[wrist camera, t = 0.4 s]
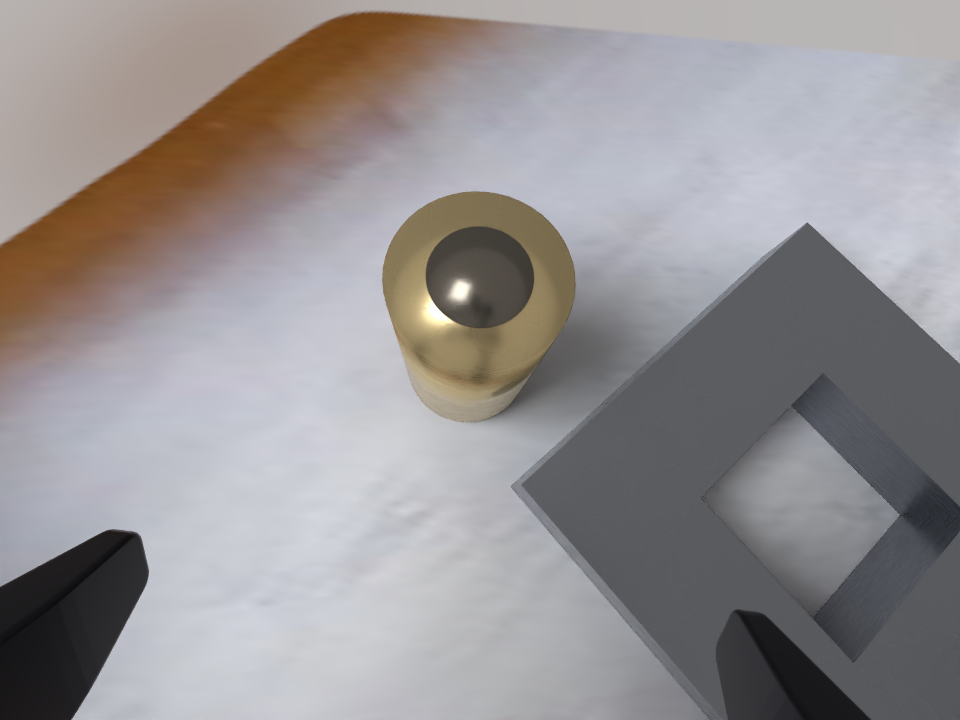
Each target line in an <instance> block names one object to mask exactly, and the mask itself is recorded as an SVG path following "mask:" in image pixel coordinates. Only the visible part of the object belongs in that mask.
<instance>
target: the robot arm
mask: <svg viewBox="0 0 960 720" xmlns="http://www.w3.org/2000/svg"><path fill="white" fill-rule="evenodd" d="M148 576H149V569H148V564H147V560H146V555H145V551H144V547H143V543H142V539H141V536H140V535H139V534H138V533H136V532H132V531H124V530H117V529H112V530H107V531H104V532H102V533H100V534H98V535H96V536H95V537H93V538H91V539H89V540H87V541H85V542H83V543H82V544H80V545H78V546H76V547H74V548H72V549H70V550H68V551H67V552H65V553H63V554H61V555H59V556H57V557H55V558H53V559H52V560H50V561H48V562H46V563H44V564H42V565H40V566H38V567H37V568H35V569H33V570H31V571H29V572H27V573H25V574H24V575H22V576H20V577H18V578H16V579H14V580H12V581H10V582H9V583H7V584H5V585H3V586H1V587H0V720H71V719H72V718H73V716H74V715H75V713H76V712H77V710H78V709H79V707H80V705H81V704H82V702H83V701H84V699H85V697H86V696H87V694H88V693H89V691H90V689H91V687H92V686H93V684H94V682H95V680H96V679H97V677H98V675H99V673H100V671H101V669H102V668H103V666H104V664H105V662H106V660H107V658H108V656H109V654H110V653H111V651H112V649H113V647H114V645H115V643H116V641H117V639H118V637H119V636H120V634H121V632H122V630H123V628H124V626H125V624H126V622H127V620H128V619H129V617H130V615H131V613H132V611H133V609H134V607H135V605H136V603H137V602H138V600H139V598H140V596H141V594H142V592H143V590H144V588H145V586H146V584H147V581H148ZM715 658H716V664H717V669H718V674H719V679H720V684H721V690H722V695H723V700H724V705H725V710H726V715H727V720H871V719H870V718H869V717H868V716H867V715H866V714H865V713H864V712H863V711H862V710H861V709H860V708H859V707H858V706H857V705H856V704H855V703H854V702H853V701H852V700H851V699H850V698H849V697H848V696H847V695H846V694H845V693H844V692H843V691H842V690H841V689H840V688H839V687H838V686H837V685H836V684H835V683H834V682H833V681H832V680H831V679H830V678H829V677H828V676H827V675H826V674H825V673H824V672H823V671H822V670H821V669H820V668H819V667H818V666H817V665H816V664H815V663H814V662H813V661H812V660H811V659H810V658H809V657H808V656H807V655H806V654H805V653H804V652H803V651H802V650H801V649H800V648H799V647H798V646H797V645H796V644H795V643H794V642H793V641H792V640H791V639H790V638H789V637H788V636H787V635H786V634H785V633H784V632H783V631H782V630H781V629H780V628H779V627H778V626H777V625H776V624H775V623H774V622H773V621H772V620H771V619H769V618H768V617H767V616H766V615H764V614H763V613H761V612H757V611H749V610H741V609H736V610H734V611H733V612H731V614H730V616H729V618H728V620H727V622H726V624H725V626H724V628H723V630H722V633H721V635H720V637H719V639H718V641H717V644H716V649H715Z"/></svg>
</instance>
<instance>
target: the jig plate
mask: <svg viewBox="0 0 960 720" xmlns="http://www.w3.org/2000/svg"><path fill="white" fill-rule="evenodd" d="M791 405H792V406H793V407H794V408H795V409H796V410H797V411H798V412H799V413H800V414H801V415H802V416H803V417H804V418H805V419H806V420H807V421H808V422H809V423H810V424H811V425H812V426H813V427H814V428H815V429H816V430H817V431H818V432H819V433H820V434H821V435H822V436H823V437H824V438H825V439H826V440H827V441H828V442H829V443H830V444H831V445H832V446H833V447H834V448H835V449H836V450H837V451H838V452H839V453H840V454H841V455H842V456H843V457H844V458H845V459H846V460H847V461H848V462H849V463H850V464H851V465H852V466H853V467H854V468H855V469H856V470H857V471H858V472H859V473H860V474H861V475H862V476H863V477H864V478H865V479H866V480H867V481H868V482H869V483H870V484H871V485H872V486H873V487H874V488H875V489H876V490H877V491H878V492H879V493H880V495H881V496H882V497H883V498H884V499H885V500H886V501H887V502H888V503H889V504H890V505H891V506H892V507H893V508H894V509H895V510H896V511H897V512H898V513H899V514H900V517H899V518H898V519H897V520H896V521H895V523H894V524H893V525H892V526H891V527H890V528H889V530H888V531H887V532H886V533H885V534H884V536H883V537H882V538H881V539H880V540H879V541H878V543H877V544H876V545H875V546H874V547H873V548H872V550H871V551H870V552H869V553H868V554H867V556H866V557H865V558H864V559H863V560H862V561H861V563H860V564H859V565H858V566H857V567H856V569H855V570H854V571H853V572H852V573H851V574H850V576H849V577H848V578H847V579H846V580H845V582H844V583H843V584H842V585H841V586H840V587H839V589H838V590H837V591H836V592H835V593H834V594H833V596H832V597H831V598H830V599H829V600H828V602H827V603H826V604H825V605H824V606H823V607H822V609H821V610H820V611H819V612H818V613H817V615H816V616H815V617H814V618H813V619H812V618H811V617H810V615H809V614H808V613H807V612H806V611H805V610H804V609H803V608H802V607H801V606H800V605H799V604H798V602H797V601H796V600H795V599H794V598H793V597H792V596H791V595H790V594H789V593H788V592H787V591H786V589H785V588H784V587H783V586H782V585H781V584H780V583H779V582H778V581H777V580H776V579H775V578H774V576H773V575H772V574H771V573H770V572H769V571H768V570H767V569H766V568H765V567H764V566H763V565H762V564H761V562H760V561H759V560H758V559H757V558H756V557H755V556H754V555H753V554H752V553H751V552H750V551H749V549H748V548H747V547H746V546H745V545H744V544H743V543H742V542H741V541H740V540H739V539H738V538H737V536H736V535H735V534H734V533H733V532H732V531H731V530H730V529H729V528H728V527H727V526H726V525H725V523H724V522H723V521H722V520H721V519H720V518H719V517H718V516H717V515H716V514H715V513H714V512H713V511H712V509H711V508H710V507H709V506H708V505H707V504H706V503H705V502H704V501H703V500H702V499H701V497H702V496H703V495H704V494H705V493H706V492H707V491H708V490H709V489H710V488H711V487H712V486H713V485H714V484H715V483H716V482H717V481H718V480H719V479H720V478H721V477H722V476H723V475H724V474H725V473H726V472H727V471H728V470H729V469H730V468H731V467H732V465H733V464H734V463H735V462H736V461H737V460H738V459H739V458H740V457H741V456H742V455H743V454H744V453H745V452H746V451H747V450H748V449H749V448H750V447H751V446H752V445H753V444H754V443H755V442H756V441H757V440H758V439H759V438H760V437H761V436H762V435H763V434H764V433H765V432H766V431H767V430H768V429H769V428H770V427H771V426H772V425H773V423H774V422H775V421H776V420H777V419H778V418H779V417H780V416H781V415H782V414H783V413H784V412H785V411H786V410H787V409H788V408H789V407H790V406H791ZM511 488H512V489H513V490H514V491H515V492H516V493H517V495H518V496H519V497H520V498H521V499H522V500H523V502H524V503H525V504H526V505H527V506H528V507H529V509H530V510H531V511H532V512H533V513H534V514H535V516H536V517H537V518H538V519H539V520H540V521H541V523H542V524H543V525H544V526H545V527H546V528H547V530H548V531H549V532H550V533H551V534H552V535H553V537H554V538H555V539H556V540H557V541H558V543H559V544H560V545H561V546H562V547H563V548H564V550H565V551H566V552H567V553H568V554H569V555H570V557H571V558H572V559H573V560H574V561H575V562H576V564H577V565H578V566H579V567H580V568H581V569H582V571H583V572H584V573H585V574H586V575H587V576H588V578H589V579H590V580H591V581H592V582H593V583H594V585H595V586H596V587H597V588H598V589H599V590H600V592H601V593H602V594H603V595H604V596H605V597H606V599H607V600H608V601H609V602H610V603H611V604H612V606H613V607H614V608H615V609H616V610H617V611H618V613H619V614H620V615H621V616H622V617H623V618H624V620H625V621H626V622H627V623H628V624H629V625H630V627H631V628H632V629H633V630H634V631H635V632H636V634H637V635H638V636H639V637H640V638H641V639H642V641H643V642H644V643H645V644H646V645H647V646H648V648H649V649H650V650H651V651H652V652H653V654H654V655H655V656H656V657H657V658H658V659H659V661H660V662H661V663H662V664H663V665H664V666H665V668H666V669H667V670H668V671H669V672H670V673H671V675H672V676H673V677H674V678H675V679H676V680H677V682H678V683H679V684H680V685H681V686H682V687H683V689H684V690H685V691H686V692H687V693H688V694H689V696H690V697H691V698H692V699H693V700H694V701H695V703H696V704H697V705H698V706H699V707H700V708H701V710H702V711H703V712H704V713H705V714H706V715H707V717H708V718H709V719H710V720H727V715H726V710H725V705H724V700H723V695H722V690H721V684H720V679H719V674H718V669H717V664H716V658H715V649H716V644H717V641H718V639H719V637H720V635H721V633H722V630H723V628H724V626H725V624H726V622H727V620H728V618H729V616H730V614H731V612H733V611H734V610H736V609H741V610H749V611H757V612H761V613H763V614H764V615H766V616H767V617H768V618H769V619H771V620H772V621H773V622H774V623H775V624H776V625H777V626H778V627H779V628H780V629H781V630H782V631H783V632H784V633H785V634H786V635H787V636H788V637H789V638H790V639H791V640H792V641H793V642H794V643H795V644H796V645H797V646H798V647H799V648H800V649H801V650H802V651H803V652H804V653H805V654H806V655H807V656H808V657H809V658H810V659H811V660H812V661H813V662H814V663H815V664H816V665H817V666H818V667H819V668H820V669H821V670H822V671H823V672H824V673H825V674H826V675H827V676H828V677H829V678H830V679H831V680H832V681H833V682H834V683H835V684H836V685H837V686H838V687H839V688H840V689H841V690H842V691H843V692H844V693H845V694H846V695H847V696H848V697H849V698H850V699H851V700H852V701H853V702H854V703H855V704H856V705H857V706H858V707H859V708H860V709H861V710H862V711H863V712H864V713H865V714H866V715H867V716H868V717H869V718H870V719H871V720H960V364H959V363H958V362H957V361H956V360H955V359H954V358H953V357H952V356H951V355H950V354H949V353H948V352H946V351H945V350H944V349H943V348H942V347H941V346H940V345H939V344H938V343H937V342H936V341H935V340H933V339H932V338H931V337H930V336H929V335H928V334H927V333H926V332H925V331H924V330H923V329H922V328H921V327H919V326H918V325H917V324H916V323H915V322H914V321H913V320H912V319H911V318H910V317H909V316H908V315H907V314H905V313H904V312H903V311H902V310H901V309H900V308H899V307H898V306H897V305H896V304H895V303H894V302H893V301H891V300H890V299H889V298H888V297H887V296H886V295H885V294H884V293H883V292H882V291H881V290H880V289H879V288H877V287H876V286H875V285H874V284H873V283H872V282H871V281H870V280H869V279H868V278H867V277H866V276H865V275H863V274H862V273H861V272H860V271H859V270H858V269H857V268H856V267H855V266H854V265H853V264H852V263H850V262H849V261H848V260H847V259H846V258H845V257H844V256H843V255H842V254H841V253H840V252H839V251H838V250H836V249H835V248H834V247H833V246H832V245H831V244H830V243H829V242H828V241H827V240H826V239H825V238H824V237H822V236H821V235H820V234H819V233H818V232H817V231H816V230H815V229H814V228H813V227H812V226H811V225H810V224H808V223H806V224H805V225H803V226H802V227H801V228H800V229H798V230H797V231H796V232H794V233H793V234H792V235H790V236H789V237H788V238H787V239H785V240H784V241H783V242H781V243H780V244H779V245H777V246H776V247H775V248H773V249H772V250H771V251H770V252H768V253H767V254H766V255H764V256H763V257H762V258H761V259H760V260H759V261H758V262H757V263H756V264H755V265H753V266H752V267H751V268H750V269H749V270H748V271H747V272H746V273H745V274H744V275H742V276H741V277H740V278H739V279H738V280H737V281H736V282H735V283H734V284H733V285H731V286H730V287H729V288H728V289H727V290H726V291H725V292H724V293H723V294H722V295H720V296H719V297H718V298H717V299H716V300H715V301H714V302H713V303H712V304H711V305H710V306H708V307H707V308H706V309H705V310H704V311H703V312H702V313H701V314H700V315H699V316H697V317H696V318H695V319H694V320H693V321H692V322H691V323H690V324H689V325H688V326H686V327H685V328H684V329H683V330H682V331H681V332H680V333H679V334H678V335H677V336H676V337H674V338H673V339H672V340H671V341H670V342H669V343H668V344H667V345H666V346H665V347H663V348H662V349H661V350H660V351H659V352H658V353H657V354H656V355H655V356H654V357H652V358H651V359H650V360H649V361H648V362H647V363H646V364H645V365H644V366H643V367H642V368H640V369H639V370H638V371H637V372H636V373H635V374H634V375H633V376H632V377H631V378H629V379H628V380H627V381H626V382H625V383H624V384H623V385H622V386H621V387H620V388H618V389H617V390H616V391H615V392H614V393H613V394H612V395H611V396H610V397H609V398H607V399H606V400H605V401H604V402H603V403H602V404H601V405H600V406H599V407H598V408H597V409H595V410H594V411H593V412H592V413H591V414H590V415H589V416H588V417H587V418H586V419H584V420H583V421H582V422H581V423H580V424H579V425H578V426H577V427H576V428H575V429H573V430H572V431H571V432H570V433H569V434H568V435H567V436H566V437H565V438H564V439H563V440H561V441H560V442H559V443H558V444H557V445H556V446H555V447H554V448H553V449H552V450H550V451H549V452H548V453H547V454H546V455H545V456H544V457H543V458H542V459H541V460H539V461H538V462H537V463H536V464H535V465H534V466H533V467H532V468H531V469H530V470H528V471H527V472H526V473H525V474H524V475H523V476H522V477H521V478H520V479H519V480H518V481H516V482H515V483H514V484H513V485H512V486H511Z"/></svg>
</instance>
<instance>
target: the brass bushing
mask: <svg viewBox="0 0 960 720" xmlns="http://www.w3.org/2000/svg"><path fill="white" fill-rule="evenodd" d="M382 282H383V293H384V297H385V301H386V305H387V308H388V311H389V314H390V318H391V321H392V324H393V327H394V330H395V333H396V337H397V340H398V343H399V346H400V349H401V352H402V356H403V359H404V362H405V365H406V368H407V371H408V375H409V378H410V381H411V384H412V386H413V389H414V390H415V392H416V394H417V396H418V397H419V398H420V400H421V401H422V402H423V403H424V404H425V405H426V406H427V407H428V408H429V409H430V410H432V411H433V412H435V413H436V414H438V415H440V416H442V417H444V418H447V419H450V420H453V421H459V422H476V421H481V420H485V419H488V418H491V417H493V416H495V415H497V414H498V413H500V412H502V411H503V410H504V409H506V408H507V407H508V406H509V405H510V404H511V403H512V402H513V400H514V399H515V398H516V396H517V395H518V393H519V392H520V390H521V389H522V387H523V386H524V384H525V383H526V382H527V380H528V379H529V377H530V376H531V374H532V373H533V371H534V370H535V368H536V367H537V365H538V364H539V362H540V361H541V359H542V358H543V356H544V355H545V353H546V352H547V350H548V349H549V347H550V346H551V345H552V343H553V342H554V340H555V339H556V337H557V336H558V334H559V333H560V331H561V330H562V328H563V326H564V324H565V323H566V321H567V319H568V316H569V314H570V311H571V309H572V305H573V301H574V296H575V272H574V266H573V262H572V259H571V256H570V252H569V250H568V248H567V246H566V244H565V242H564V240H563V239H562V237H561V236H560V234H559V232H558V231H557V230H556V229H555V227H554V226H553V225H552V224H551V223H550V222H549V221H548V220H547V219H546V218H545V217H544V216H543V215H542V214H540V213H539V212H537V211H536V210H535V209H533V208H532V207H530V206H528V205H526V204H525V203H523V202H521V201H518V200H516V199H514V198H511V197H508V196H504V195H501V194H496V193H490V192H462V193H457V194H452V195H448V196H445V197H442V198H439V199H437V200H435V201H433V202H431V203H429V204H427V205H425V206H424V207H422V208H421V209H419V210H418V211H416V212H415V213H414V214H413V215H412V216H410V217H409V218H408V219H407V220H406V221H405V223H404V224H403V225H402V226H401V227H400V229H399V230H398V231H397V233H396V234H395V236H394V238H393V240H392V241H391V243H390V245H389V248H388V251H387V254H386V256H385V261H384V266H383V278H382Z"/></svg>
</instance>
